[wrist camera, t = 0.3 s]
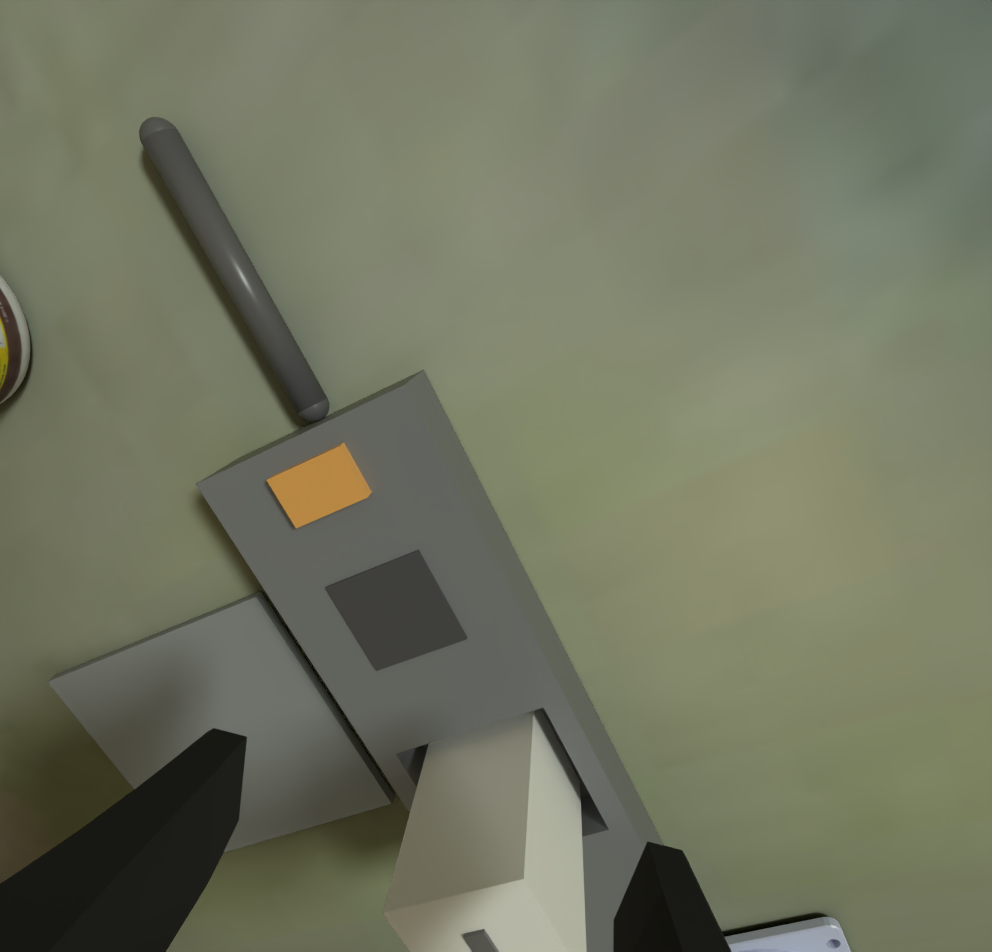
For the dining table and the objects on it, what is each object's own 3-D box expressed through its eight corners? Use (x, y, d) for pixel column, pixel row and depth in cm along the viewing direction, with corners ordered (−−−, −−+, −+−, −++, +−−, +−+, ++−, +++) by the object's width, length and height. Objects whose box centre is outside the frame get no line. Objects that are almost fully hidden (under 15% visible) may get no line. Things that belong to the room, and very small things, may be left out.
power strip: (678, 874, 24) (693, 951, 21) (518, 911, 25) (513, 986, 23) (264, 55, 16) (205, 13, 13) (67, 186, 17) (-21, 172, 15)
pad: (394, 795, 24) (391, 803, 23) (197, 853, 26) (192, 862, 26) (261, 591, 21) (255, 596, 21) (55, 675, 23) (47, 681, 23)
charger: (580, 781, 22) (587, 989, 15) (481, 809, 23) (451, 1015, 16) (534, 696, 21) (523, 883, 14) (432, 728, 21) (381, 917, 15)
